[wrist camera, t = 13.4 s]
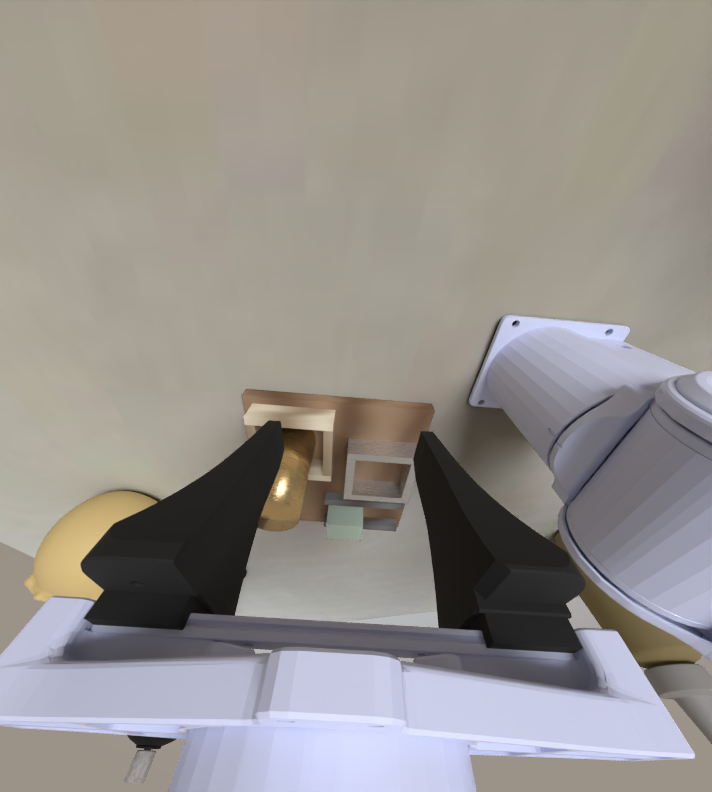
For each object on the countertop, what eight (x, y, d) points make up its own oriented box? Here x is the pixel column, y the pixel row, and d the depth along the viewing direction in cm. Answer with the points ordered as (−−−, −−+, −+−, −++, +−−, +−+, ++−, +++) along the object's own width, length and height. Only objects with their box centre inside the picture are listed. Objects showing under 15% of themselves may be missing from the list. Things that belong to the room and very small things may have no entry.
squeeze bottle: (624, 527, 33) (839, 771, 18) (571, 553, 37) (711, 770, 22) (582, 510, 31) (782, 765, 16) (531, 539, 36) (654, 765, 20)
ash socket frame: (335, 409, 22) (333, 424, 21) (332, 465, 26) (330, 481, 25) (252, 403, 22) (243, 417, 21) (262, 460, 26) (255, 476, 25)
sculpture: (102, 521, 36) (14, 619, 27) (85, 468, 29) (-37, 574, 20) (187, 538, 38) (132, 634, 29) (188, 492, 31) (118, 597, 22)
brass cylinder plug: (321, 429, 24) (305, 507, 17) (310, 457, 26) (291, 535, 19) (279, 417, 23) (245, 492, 16) (271, 446, 25) (238, 524, 18)
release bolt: (362, 501, 30) (363, 526, 27) (360, 516, 31) (360, 540, 29) (329, 499, 30) (326, 524, 27) (328, 513, 31) (325, 538, 29)
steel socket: (418, 443, 24) (422, 459, 23) (404, 487, 28) (407, 503, 26) (348, 438, 24) (347, 453, 23) (344, 483, 28) (343, 498, 26)
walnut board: (432, 404, 23) (437, 417, 21) (396, 519, 33) (398, 534, 32) (246, 389, 23) (236, 401, 21) (269, 510, 33) (264, 525, 31)
